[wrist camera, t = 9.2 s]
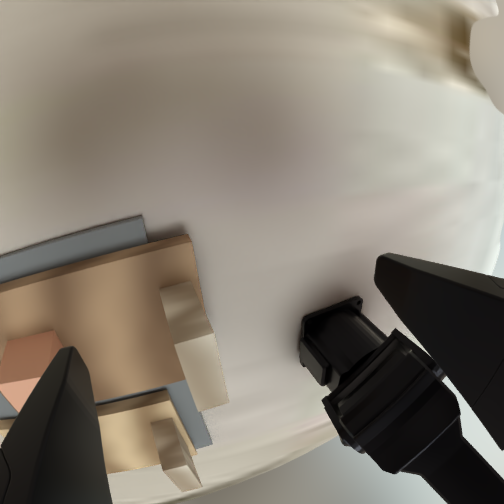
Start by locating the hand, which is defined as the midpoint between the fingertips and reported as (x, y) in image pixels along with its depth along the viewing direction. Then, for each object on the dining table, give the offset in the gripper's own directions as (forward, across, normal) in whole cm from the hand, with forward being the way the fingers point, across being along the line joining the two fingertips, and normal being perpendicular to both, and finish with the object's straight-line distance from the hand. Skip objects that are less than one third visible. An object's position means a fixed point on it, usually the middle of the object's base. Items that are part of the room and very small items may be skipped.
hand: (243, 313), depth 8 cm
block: (+10, +12, +8) cm, 17 cm away
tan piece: (+12, +13, +21) cm, 27 cm away
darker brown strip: (+12, +8, +8) cm, 17 cm away
